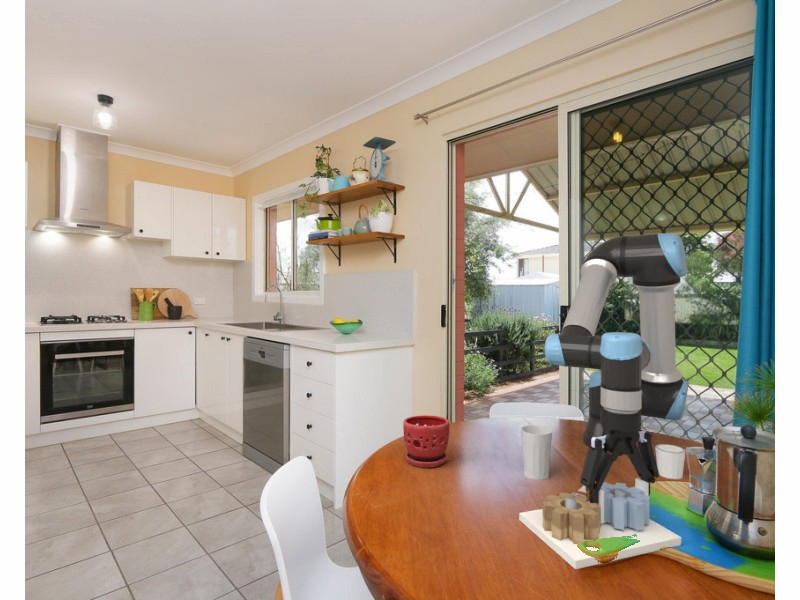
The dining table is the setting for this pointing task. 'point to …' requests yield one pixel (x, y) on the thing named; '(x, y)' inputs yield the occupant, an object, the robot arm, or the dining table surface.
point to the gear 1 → (571, 518)
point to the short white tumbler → (670, 461)
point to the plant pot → (426, 440)
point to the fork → (581, 491)
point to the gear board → (649, 537)
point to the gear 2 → (625, 507)
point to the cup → (536, 451)
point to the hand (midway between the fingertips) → (620, 515)
